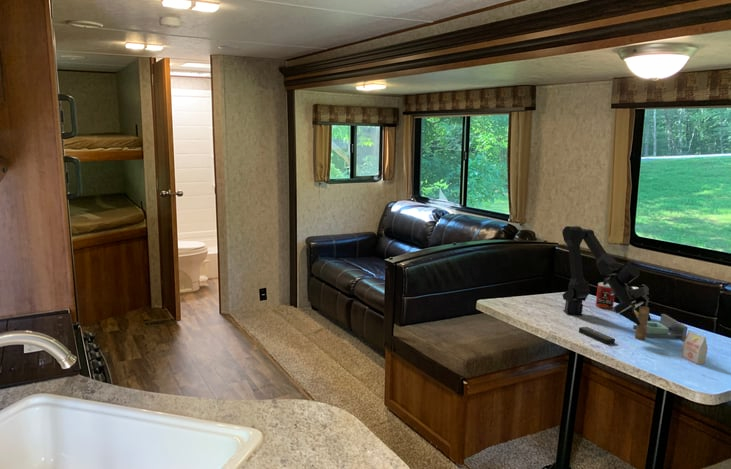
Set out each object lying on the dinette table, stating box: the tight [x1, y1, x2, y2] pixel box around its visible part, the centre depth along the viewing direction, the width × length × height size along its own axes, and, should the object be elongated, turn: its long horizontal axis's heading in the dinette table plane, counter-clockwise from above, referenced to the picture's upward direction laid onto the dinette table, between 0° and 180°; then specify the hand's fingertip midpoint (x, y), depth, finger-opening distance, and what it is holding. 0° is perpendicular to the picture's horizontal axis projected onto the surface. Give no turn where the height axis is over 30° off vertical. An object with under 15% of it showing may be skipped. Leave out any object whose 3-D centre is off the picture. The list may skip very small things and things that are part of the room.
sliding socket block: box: [646, 321, 669, 334], centre depth 226 cm, size 8×8×4 cm
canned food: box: [595, 281, 616, 310], centre depth 260 cm, size 8×8×11 cm
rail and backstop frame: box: [632, 313, 688, 342], centre depth 226 cm, size 14×16×6 cm
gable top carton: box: [680, 330, 708, 365], centre depth 199 cm, size 4×7×10 cm, turn 17°
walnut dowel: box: [634, 306, 650, 341], centre depth 218 cm, size 4×4×13 cm
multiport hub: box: [578, 326, 616, 346], centre depth 218 cm, size 4×14×2 cm, turn 24°
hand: (644, 322), depth 217 cm, fingers open, 9 cm apart
